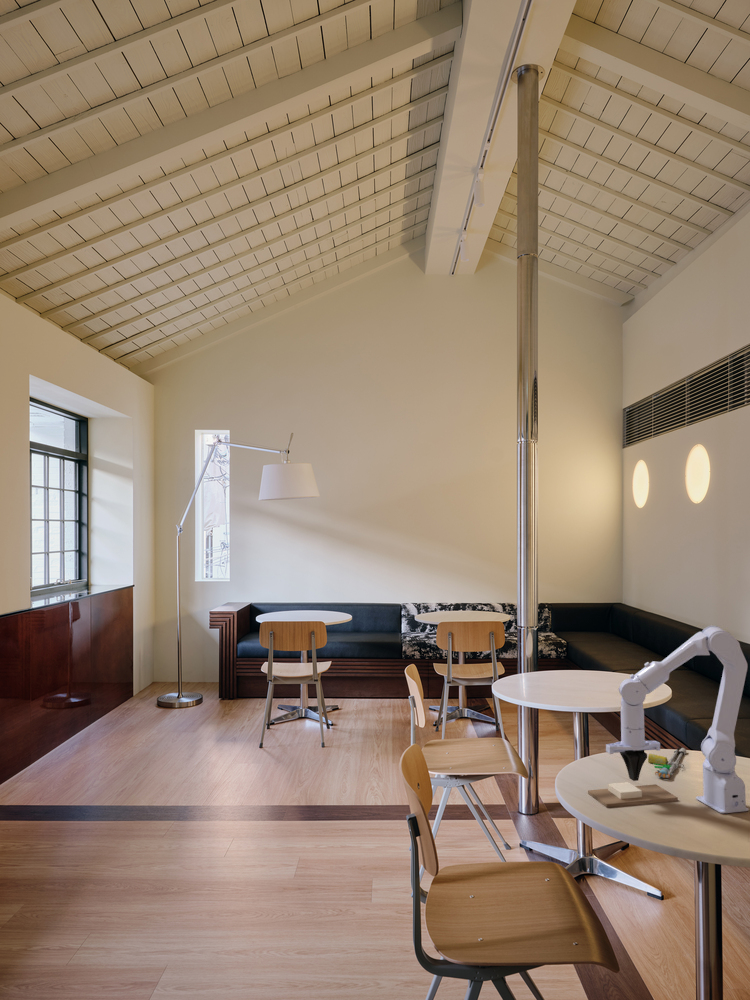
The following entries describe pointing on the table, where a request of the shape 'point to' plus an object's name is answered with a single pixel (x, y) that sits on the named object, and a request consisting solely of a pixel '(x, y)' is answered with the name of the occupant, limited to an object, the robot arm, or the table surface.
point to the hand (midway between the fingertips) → (633, 779)
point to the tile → (624, 790)
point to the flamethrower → (666, 763)
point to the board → (648, 796)
